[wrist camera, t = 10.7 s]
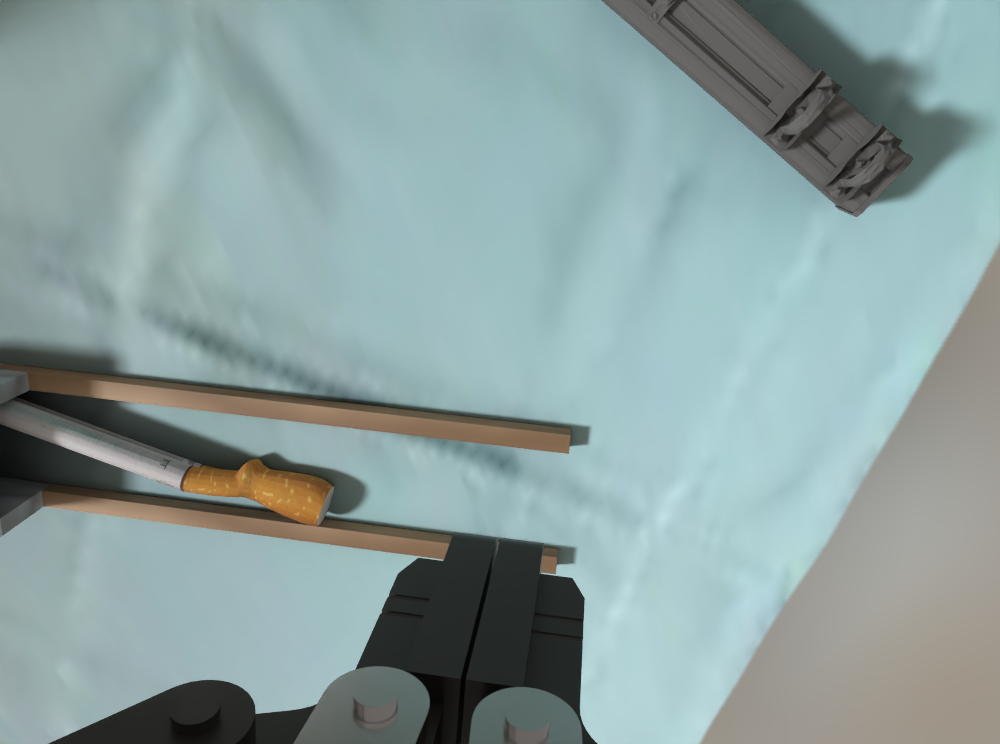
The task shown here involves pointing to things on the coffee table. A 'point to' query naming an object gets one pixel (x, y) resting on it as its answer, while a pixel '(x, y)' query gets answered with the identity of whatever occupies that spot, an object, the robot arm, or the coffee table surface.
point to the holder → (18, 499)
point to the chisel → (175, 464)
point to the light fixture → (773, 95)
